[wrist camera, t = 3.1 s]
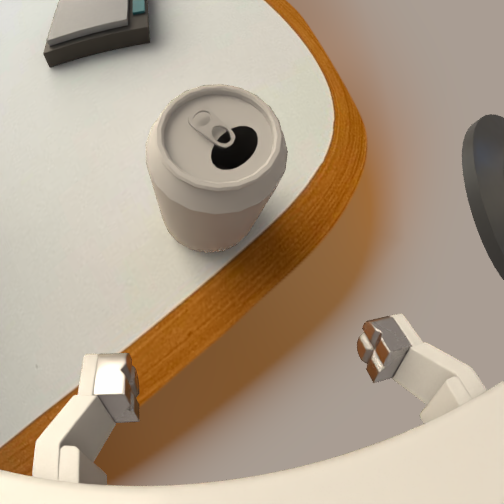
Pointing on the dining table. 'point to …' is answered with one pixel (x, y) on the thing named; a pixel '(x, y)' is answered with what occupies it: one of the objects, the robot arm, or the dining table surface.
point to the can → (214, 164)
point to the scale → (95, 28)
